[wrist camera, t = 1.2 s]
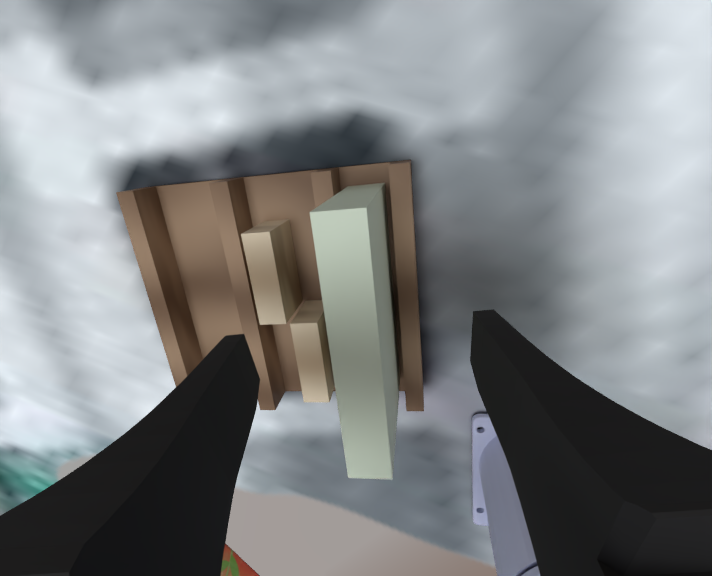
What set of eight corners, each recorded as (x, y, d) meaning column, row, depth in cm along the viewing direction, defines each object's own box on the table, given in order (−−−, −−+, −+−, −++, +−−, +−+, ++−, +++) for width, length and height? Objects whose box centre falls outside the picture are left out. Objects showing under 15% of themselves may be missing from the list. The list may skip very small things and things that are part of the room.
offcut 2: (339, 371, 25) (329, 402, 22) (317, 371, 25) (304, 402, 23) (329, 299, 24) (317, 322, 21) (305, 300, 24) (289, 323, 21)
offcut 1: (302, 300, 24) (286, 323, 21) (279, 301, 24) (259, 324, 21) (289, 219, 22) (269, 231, 19) (264, 221, 22) (240, 233, 19)
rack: (423, 385, 25) (423, 411, 23) (203, 386, 28) (183, 409, 26) (410, 159, 21) (409, 162, 18) (147, 187, 23) (116, 192, 21)
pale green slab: (400, 377, 25) (392, 479, 17) (368, 377, 25) (348, 477, 18) (384, 182, 21) (366, 207, 13) (347, 186, 21) (309, 212, 14)
